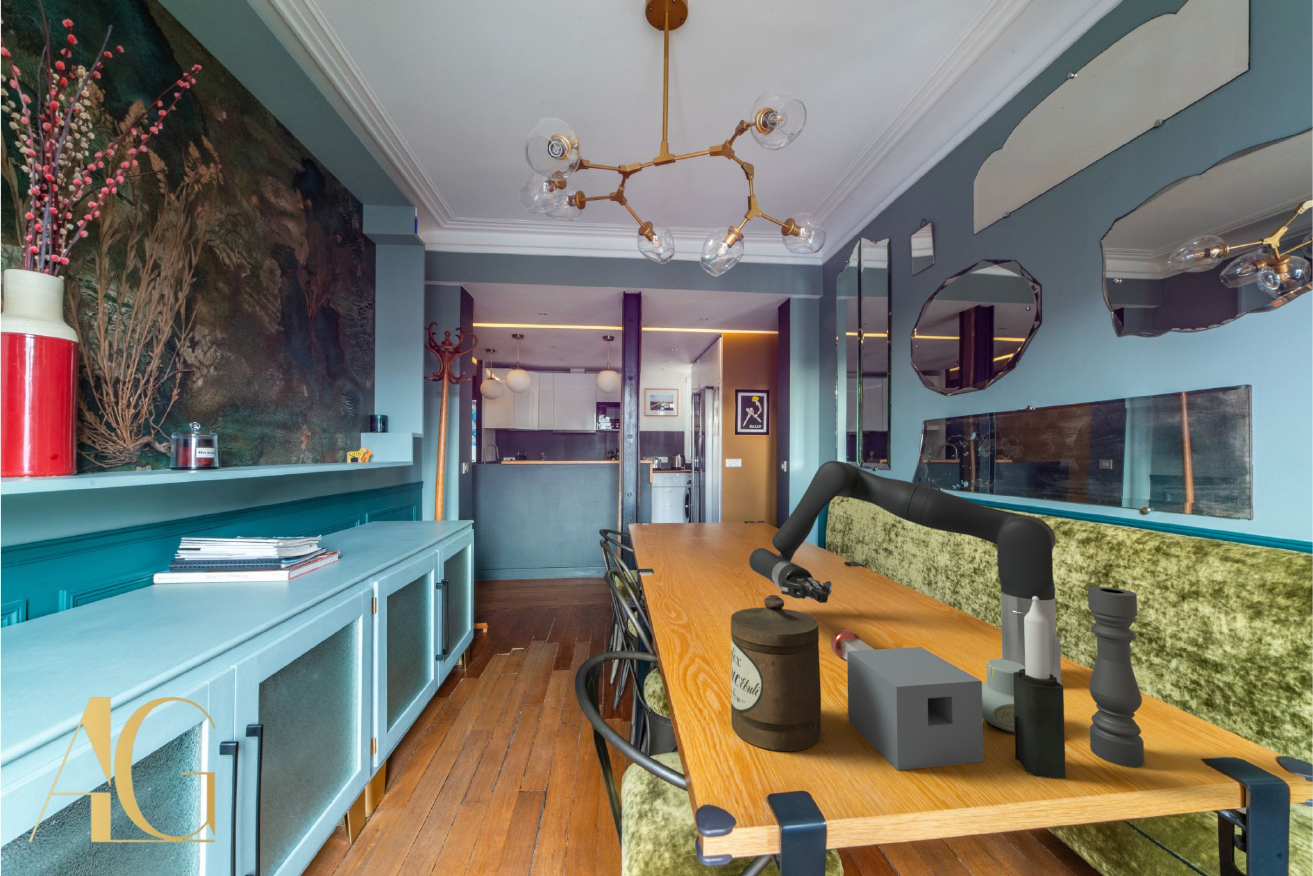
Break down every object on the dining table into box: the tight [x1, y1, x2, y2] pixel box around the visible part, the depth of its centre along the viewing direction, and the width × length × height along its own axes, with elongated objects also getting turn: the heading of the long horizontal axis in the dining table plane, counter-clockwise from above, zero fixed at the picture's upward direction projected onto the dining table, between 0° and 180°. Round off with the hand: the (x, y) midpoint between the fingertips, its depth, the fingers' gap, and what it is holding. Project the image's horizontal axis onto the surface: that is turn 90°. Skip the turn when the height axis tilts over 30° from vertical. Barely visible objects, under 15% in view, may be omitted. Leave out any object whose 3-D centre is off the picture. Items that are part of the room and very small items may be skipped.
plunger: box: [830, 629, 876, 662], centre depth 94 cm, size 20×6×6 cm, turn 9°
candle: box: [1013, 596, 1066, 779], centre depth 77 cm, size 5×5×25 cm
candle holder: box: [1087, 586, 1145, 768], centre depth 80 cm, size 6×6×25 cm
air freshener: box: [982, 658, 1025, 734], centre depth 89 cm, size 11×8×10 cm
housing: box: [846, 646, 984, 771], centre depth 83 cm, size 14×14×12 cm
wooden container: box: [730, 594, 822, 752], centre depth 88 cm, size 15×15×22 cm
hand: (824, 598), depth 113 cm, fingers closed
